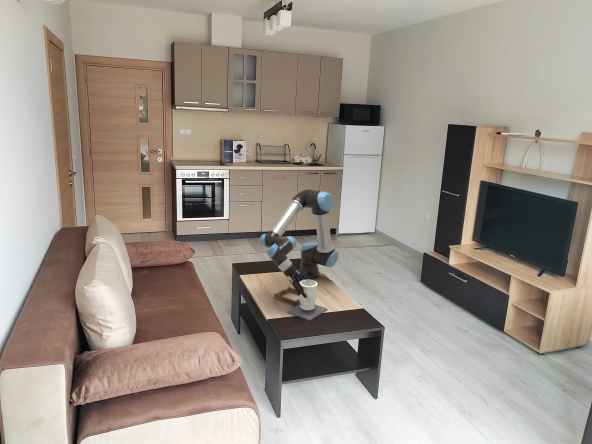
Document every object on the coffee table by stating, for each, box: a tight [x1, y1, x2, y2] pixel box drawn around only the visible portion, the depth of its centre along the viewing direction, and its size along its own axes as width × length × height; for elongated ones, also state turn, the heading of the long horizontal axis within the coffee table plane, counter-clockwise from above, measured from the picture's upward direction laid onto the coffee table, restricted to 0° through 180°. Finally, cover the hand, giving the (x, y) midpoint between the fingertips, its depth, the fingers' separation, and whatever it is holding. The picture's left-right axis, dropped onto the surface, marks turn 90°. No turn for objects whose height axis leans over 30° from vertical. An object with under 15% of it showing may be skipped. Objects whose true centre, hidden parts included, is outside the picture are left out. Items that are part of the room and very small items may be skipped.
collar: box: [273, 286, 300, 307], centre depth 277 cm, size 15×16×3 cm
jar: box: [298, 279, 318, 310], centre depth 259 cm, size 11×10×15 cm
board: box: [286, 303, 328, 322], centre depth 261 cm, size 18×16×1 cm
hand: (313, 297), depth 258 cm, fingers closed on jar, 10 cm apart
